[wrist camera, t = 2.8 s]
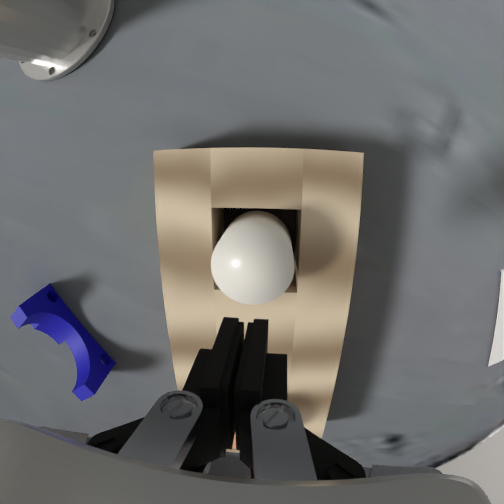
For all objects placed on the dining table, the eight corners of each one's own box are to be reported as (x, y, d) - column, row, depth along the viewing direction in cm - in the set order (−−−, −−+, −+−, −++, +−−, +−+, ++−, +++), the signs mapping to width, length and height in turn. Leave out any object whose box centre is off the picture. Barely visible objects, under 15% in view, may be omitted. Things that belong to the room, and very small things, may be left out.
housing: (175, 150, 25) (153, 150, 20) (347, 152, 24) (363, 152, 19) (198, 416, 34) (189, 446, 29) (314, 422, 33) (317, 454, 28)
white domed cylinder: (223, 210, 23) (209, 225, 18) (292, 211, 22) (296, 227, 18) (224, 274, 24) (212, 302, 20) (289, 276, 24) (292, 306, 19)
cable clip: (35, 300, 31) (6, 323, 26) (50, 282, 30) (18, 305, 24) (96, 373, 34) (75, 403, 28) (116, 362, 33) (94, 394, 27)
